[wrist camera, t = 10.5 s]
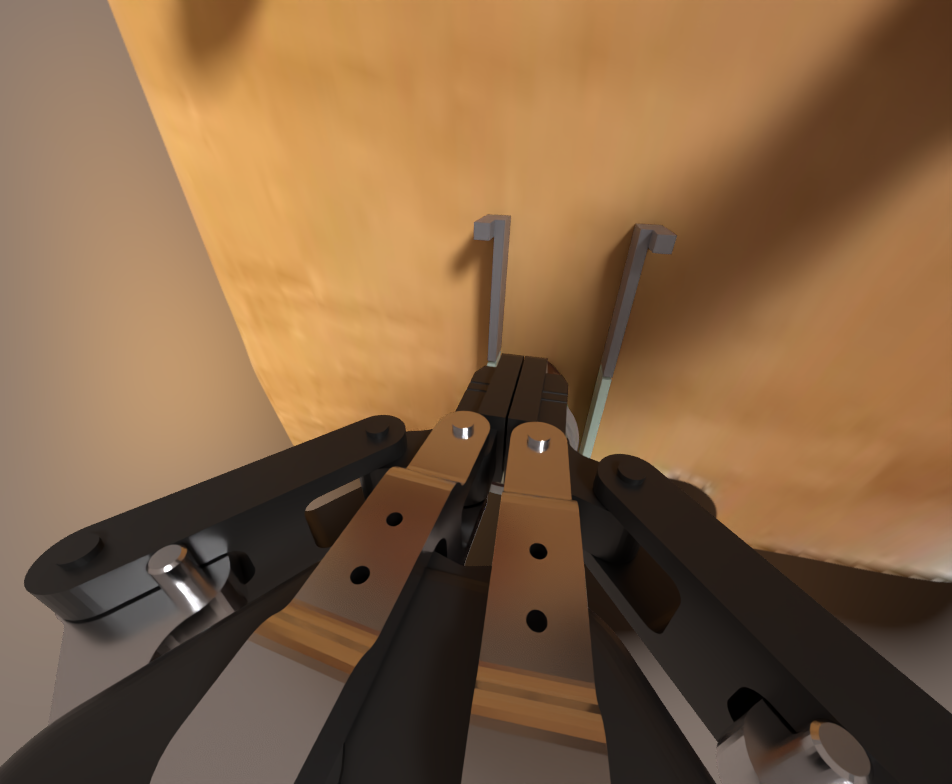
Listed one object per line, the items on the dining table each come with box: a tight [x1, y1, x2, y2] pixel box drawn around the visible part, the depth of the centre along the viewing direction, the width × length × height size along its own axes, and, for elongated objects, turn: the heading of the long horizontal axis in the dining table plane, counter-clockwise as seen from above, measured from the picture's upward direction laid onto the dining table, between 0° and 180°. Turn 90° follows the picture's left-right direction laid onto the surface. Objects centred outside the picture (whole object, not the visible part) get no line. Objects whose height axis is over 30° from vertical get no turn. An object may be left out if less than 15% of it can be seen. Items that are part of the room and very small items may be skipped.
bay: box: [474, 214, 677, 378], centre depth 31 cm, size 14×12×5 cm
